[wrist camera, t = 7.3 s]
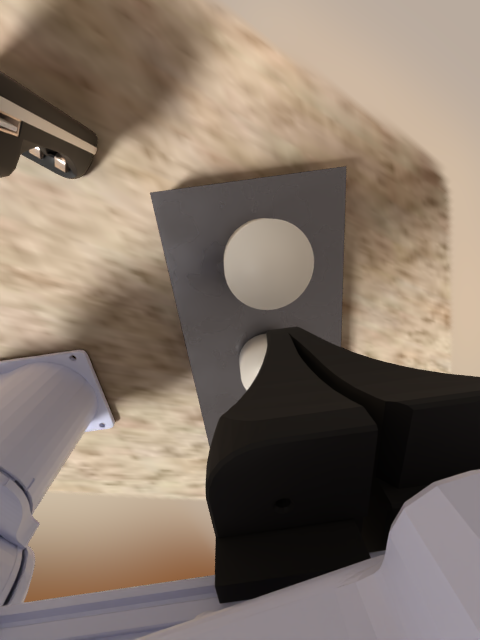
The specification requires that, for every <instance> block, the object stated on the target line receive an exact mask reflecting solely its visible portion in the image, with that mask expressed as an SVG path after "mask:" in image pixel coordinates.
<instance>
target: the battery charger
mask: <svg viewBox="0 0 480 640" xmlns="http://www.w3.org/2000/svg"><path fill="white" fill-rule="evenodd" d="M97 141H98V138H97V136H96V134H95V133H94V132H93V131H91V130H90V129H88V128H87V127H85V126H84V125H82V124H80V123H79V122H77V121H76V120H74V119H73V118H71V117H70V116H68V115H67V114H65V113H64V112H62V111H60V110H59V109H57V108H56V107H54V106H53V105H51V104H50V103H48V102H47V101H45V100H44V99H42V98H41V97H39V96H38V95H36V94H34V93H33V92H31V91H30V90H28V89H27V88H25V87H24V86H22V85H21V84H19V83H18V82H16V81H15V80H13V79H12V78H10V77H8V76H7V75H5V74H4V73H2V72H1V71H0V177H5V176H9V175H10V174H11V173H12V172H13V171H14V170H15V168H16V166H17V163H18V160H19V157H20V155H21V154H22V155H23V156H25V157H27V158H29V159H31V160H33V161H34V162H36V163H38V164H40V165H42V166H44V167H45V168H47V169H49V170H51V171H53V172H55V173H56V174H59V175H61V176H63V177H66V178H69V179H77V178H80V177H82V176H83V175H84V174H85V172H86V171H87V169H88V168H89V166H90V164H91V161H92V158H93V155H95V154H96V151H97V148H96V145H97Z"/></svg>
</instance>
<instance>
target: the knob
mask: <svg viewBox="0 0 480 640" xmlns="http://www.w3.org/2000/svg"><path fill="white" fill-rule="evenodd" d="M313 269H314V255H313V250H312V247H311V244H310V242H309V240H308V238H307V237H306V236H305V234H304V233H303V232H302V231H301V230H300V229H299V228H297V227H296V226H295V225H293V224H291V223H289V222H287V221H284V220H279V219H269V218H260V219H254V220H251V221H248V222H247V223H245V224H243V225H242V226H240V227H239V228H238V229H237V230H236V231H235V232H234V233H233V234H232V235H231V237H230V239H229V240H228V242H227V245H226V248H225V252H224V274H225V278H226V282H227V284H228V286H229V288H230V290H231V292H232V293H233V294H234V296H235V297H236V298H237V299H238V300H240V301H241V302H242V303H244V304H245V305H247V306H250V307H252V308H255V309H260V310H273V309H278V308H281V307H284V306H286V305H288V304H290V303H292V302H293V301H295V300H296V299H297V298H298V297H299V296H300V295H301V294H302V293H303V292H304V290H305V289H306V287H307V286H308V284H309V282H310V280H311V277H312V274H313Z"/></svg>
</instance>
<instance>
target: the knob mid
mask: <svg viewBox="0 0 480 640" xmlns="http://www.w3.org/2000/svg"><path fill="white" fill-rule="evenodd" d="M266 350H267V336H266V334H260V335H257V336H255V337H253V338H252V339H250V340H249V341H247V343H246V344H245V345H244V346H243V348H242V349H241V352H240V355H239V365H240V373H241V380H242V383H243V386H244V387H245V389H246V390H248V389H249V387H250V386H251V384H252V383H253V381H254V379H255V378H256V376H257V374H258V372H259V370H260V368H261V366H262V363H263V360H264V357H265V354H266Z"/></svg>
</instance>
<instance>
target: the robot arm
mask: <svg viewBox="0 0 480 640" xmlns="http://www.w3.org/2000/svg"><path fill="white" fill-rule="evenodd" d="M266 336H267V350H266V354H265V357H264V360H263V363H262V366H261V368H260V370H259V372H258V374H257V376H256V378H255V379H254V381H253V383H252V384H251V386H250V387H249V389H248V390H247V391H246V392H245V393H244V395H243V396H242V397H241V398H240V399H239V401H238V402H237V403H236V404H235V405H233V406H232V407H231V408H230V409H229V410H228V411H227V412H225V413H224V414H223V415H222V416H221V417H220V418H219V420H218V423H217V426H216V429H215V432H214V435H213V439H212V442H211V446H210V451H209V456H208V461H207V470H206V500H207V504H208V508H209V512H210V516H211V520H212V524H213V528H214V531H215V536H216V553H215V555H216V556H215V575H212V576H205V577H198V578H191V579H185V580H178V581H171V582H164V583H157V584H150V585H143V586H136V587H129V588H123V589H116V590H109V591H102V592H95V593H88V594H82V595H74V596H68V597H60V598H53V599H47V600H40V601H34V602H26V603H23V602H24V600H25V597H26V595H27V592H28V588H29V585H30V581H31V578H32V574H33V570H34V566H35V555H34V552H33V550H32V549H31V547H29V546H27V545H28V543H29V541H30V539H31V538H32V536H33V534H34V533H35V531H36V529H37V528H38V526H39V522H38V521H37V520H35V519H34V518H33V516H32V514H33V512H34V510H35V509H36V508H37V506H38V504H39V503H40V501H41V500H42V498H43V496H44V495H45V494H46V492H47V490H48V489H49V487H50V486H51V484H52V482H53V481H54V479H55V478H56V476H57V475H58V473H59V471H60V470H61V468H62V467H63V465H64V464H65V462H66V460H67V459H68V457H69V456H70V454H71V452H72V451H73V449H74V448H75V446H76V445H77V443H78V441H79V440H80V438H81V437H82V435H83V434H84V432H88V431H95V430H102V429H108V428H112V427H113V426H114V424H115V420H114V418H113V415H112V413H111V410H110V408H109V405H108V403H107V401H106V398H105V396H104V393H103V391H102V388H101V386H100V383H99V381H98V379H97V376H96V374H95V371H94V369H93V366H92V364H91V361H90V359H89V357H88V354H87V353H86V352H85V351H84V350H73V351H66V352H59V353H52V354H45V355H38V356H31V357H24V358H17V359H10V360H3V361H0V640H480V377H473V376H464V375H454V374H445V373H439V372H432V371H426V370H420V369H414V368H409V367H404V366H400V365H396V364H391V363H387V362H383V361H379V360H376V359H372V358H369V357H366V356H363V355H360V354H357V353H354V352H351V351H349V350H346V349H344V348H342V347H339V346H337V345H335V344H332V343H330V342H328V341H326V340H324V339H322V338H320V337H318V336H316V335H314V334H312V333H310V332H308V331H306V330H304V329H302V328H300V327H289V328H281V329H274V330H268V331H267V333H266ZM72 355H74V356H75V357H76V358H73V357H72ZM102 423H104V424H102Z"/></svg>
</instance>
